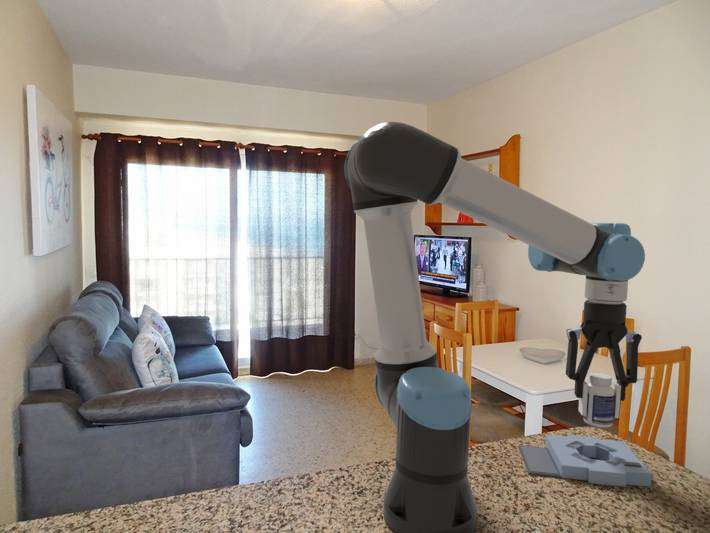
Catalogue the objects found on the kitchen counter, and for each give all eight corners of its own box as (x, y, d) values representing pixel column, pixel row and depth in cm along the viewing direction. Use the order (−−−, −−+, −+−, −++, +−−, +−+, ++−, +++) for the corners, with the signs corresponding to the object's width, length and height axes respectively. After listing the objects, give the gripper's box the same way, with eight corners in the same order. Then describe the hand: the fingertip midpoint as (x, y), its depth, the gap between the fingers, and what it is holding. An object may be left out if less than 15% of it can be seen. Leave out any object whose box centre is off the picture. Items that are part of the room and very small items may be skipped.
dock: (562, 480, 93) (563, 466, 93) (544, 443, 109) (544, 431, 109) (653, 489, 91) (654, 475, 90) (621, 450, 106) (621, 438, 106)
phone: (560, 480, 94) (561, 475, 94) (528, 477, 95) (528, 471, 95) (546, 452, 106) (547, 447, 106) (518, 449, 107) (518, 444, 107)
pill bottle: (618, 425, 98) (621, 377, 97) (602, 430, 95) (605, 381, 95) (593, 415, 103) (596, 370, 102) (577, 420, 100) (580, 374, 99)
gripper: (561, 301, 95) (554, 417, 97) (664, 305, 92) (655, 425, 94) (552, 296, 102) (546, 404, 104) (647, 299, 99) (639, 410, 101)
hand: (598, 414), depth 99 cm, fingers closed on pill bottle, 5 cm apart
